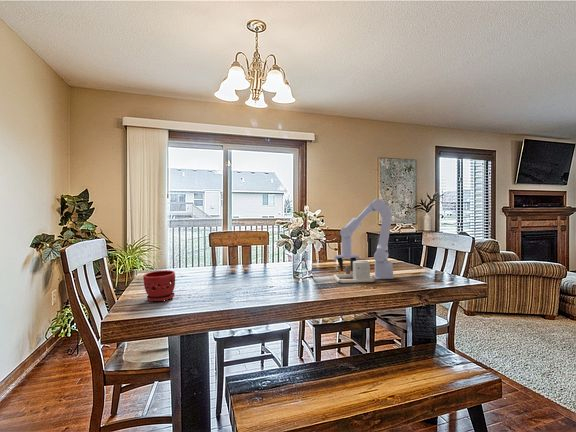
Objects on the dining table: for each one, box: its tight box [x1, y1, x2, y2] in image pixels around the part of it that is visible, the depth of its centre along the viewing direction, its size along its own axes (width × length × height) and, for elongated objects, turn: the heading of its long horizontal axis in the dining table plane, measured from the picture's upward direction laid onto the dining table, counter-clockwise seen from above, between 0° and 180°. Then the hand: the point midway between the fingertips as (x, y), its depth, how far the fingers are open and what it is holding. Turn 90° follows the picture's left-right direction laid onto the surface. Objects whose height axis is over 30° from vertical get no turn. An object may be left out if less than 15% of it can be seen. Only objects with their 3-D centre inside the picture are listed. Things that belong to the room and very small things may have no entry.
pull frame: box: [332, 265, 376, 284], centre depth 181 cm, size 19×20×5 cm
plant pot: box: [142, 269, 176, 302], centre depth 145 cm, size 13×13×12 cm
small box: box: [352, 260, 371, 279], centre depth 175 cm, size 8×6×10 cm
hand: (346, 270), depth 192 cm, fingers open, 5 cm apart
